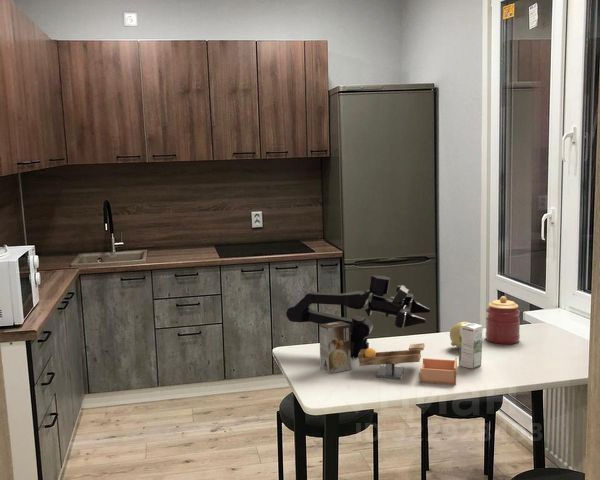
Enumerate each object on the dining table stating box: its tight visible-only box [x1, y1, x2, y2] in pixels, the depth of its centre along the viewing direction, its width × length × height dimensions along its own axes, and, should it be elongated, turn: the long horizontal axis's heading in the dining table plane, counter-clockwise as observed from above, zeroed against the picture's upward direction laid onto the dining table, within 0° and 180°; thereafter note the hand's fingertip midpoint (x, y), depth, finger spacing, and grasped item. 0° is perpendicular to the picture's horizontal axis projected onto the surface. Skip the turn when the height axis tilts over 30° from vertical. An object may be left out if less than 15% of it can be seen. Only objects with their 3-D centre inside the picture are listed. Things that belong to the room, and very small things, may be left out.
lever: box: [357, 342, 425, 367], centre depth 221 cm, size 20×16×4 cm
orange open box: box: [419, 357, 458, 386], centre depth 212 cm, size 11×11×6 cm
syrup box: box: [458, 322, 484, 370], centre depth 223 cm, size 6×6×14 cm
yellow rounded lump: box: [449, 321, 470, 348], centre depth 243 cm, size 10×12×11 cm
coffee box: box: [318, 321, 352, 375], centre depth 221 cm, size 9×6×16 cm
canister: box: [485, 295, 521, 345], centre depth 253 cm, size 13×13×18 cm
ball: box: [364, 347, 376, 358], centre depth 217 cm, size 4×4×4 cm
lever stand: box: [375, 363, 405, 381], centre depth 216 cm, size 8×10×5 cm
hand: (428, 315), depth 228 cm, fingers open, 9 cm apart
